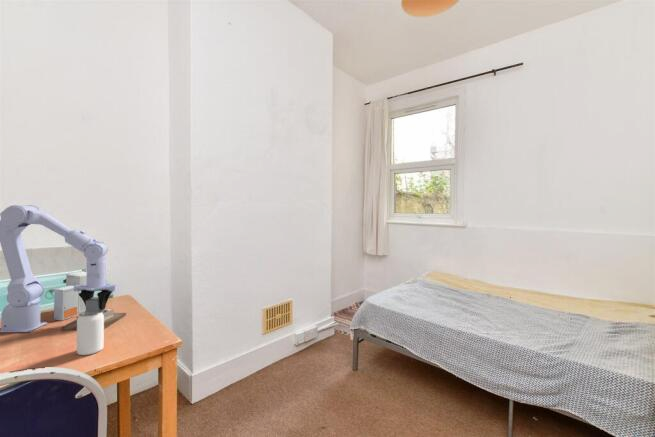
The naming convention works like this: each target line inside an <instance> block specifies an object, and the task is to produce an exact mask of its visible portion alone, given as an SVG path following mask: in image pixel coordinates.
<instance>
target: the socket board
mask: <svg viewBox="0 0 655 437" xmlns="http://www.w3.org/2000/svg"><path fill="white" fill-rule="evenodd" d="M114 311H115V309H114V308H113V309H110V308H109V309H106V308H105V309H104V314H103V315H104V330H105V329H107V328H108V327H110V326H112V325H113V324H115V323H116V322H117V321H119V320H120V319H122V318H124V317H126V316H127V312H114ZM78 317H79V315H77V316H76V319H75V320H73V321H71V322H69V323H67V324H65V325H63V326H61V331H71V330H72V331H74V330H75V331H77V319H78Z"/></svg>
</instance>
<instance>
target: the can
mask: <svg viewBox="0 0 655 437" xmlns="http://www.w3.org/2000/svg"><path fill="white" fill-rule="evenodd" d="M78 316H79V317H78ZM78 316H77V317H78V319H77V318H76V320H77V330H76V353H77V355H79V356H90V355H94V354H97V353H99V352H101V351H102V350H103V349H104V347H105V346H104V345H105V343H104V342H105V336H104V335H105V334H104V333H105V329H104V315H103V313H102V310H88V311H84V312H81V313H78Z"/></svg>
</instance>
